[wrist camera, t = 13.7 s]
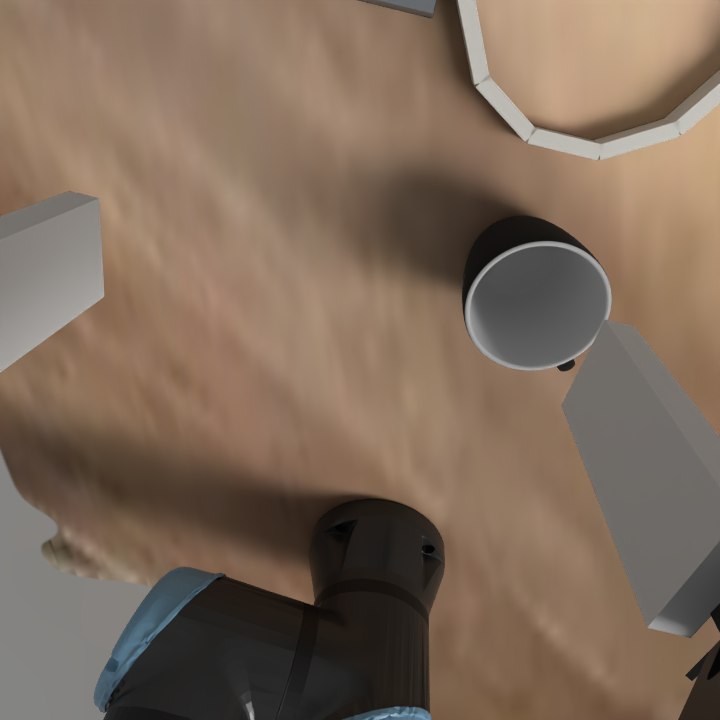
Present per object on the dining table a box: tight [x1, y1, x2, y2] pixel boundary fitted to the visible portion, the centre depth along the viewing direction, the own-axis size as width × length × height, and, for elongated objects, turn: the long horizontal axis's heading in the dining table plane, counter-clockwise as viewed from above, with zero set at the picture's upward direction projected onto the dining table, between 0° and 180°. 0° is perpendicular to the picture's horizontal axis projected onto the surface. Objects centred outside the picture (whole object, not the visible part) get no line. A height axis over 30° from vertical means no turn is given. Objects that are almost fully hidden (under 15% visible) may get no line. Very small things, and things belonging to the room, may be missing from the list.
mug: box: [462, 216, 611, 371], centre depth 38 cm, size 12×9×10 cm
